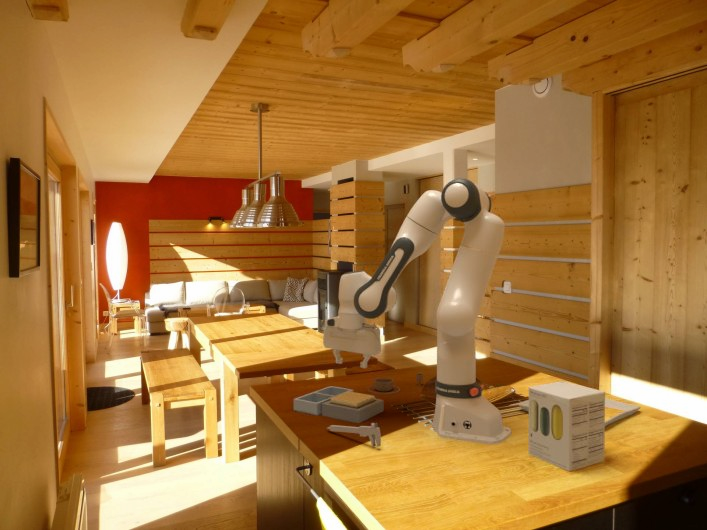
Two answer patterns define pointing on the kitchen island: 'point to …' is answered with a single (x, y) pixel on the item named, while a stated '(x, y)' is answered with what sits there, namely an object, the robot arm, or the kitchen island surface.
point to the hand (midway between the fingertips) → (351, 365)
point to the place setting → (389, 384)
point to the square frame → (352, 411)
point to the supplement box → (566, 424)
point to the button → (353, 399)
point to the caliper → (361, 432)
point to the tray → (317, 400)
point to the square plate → (609, 403)
